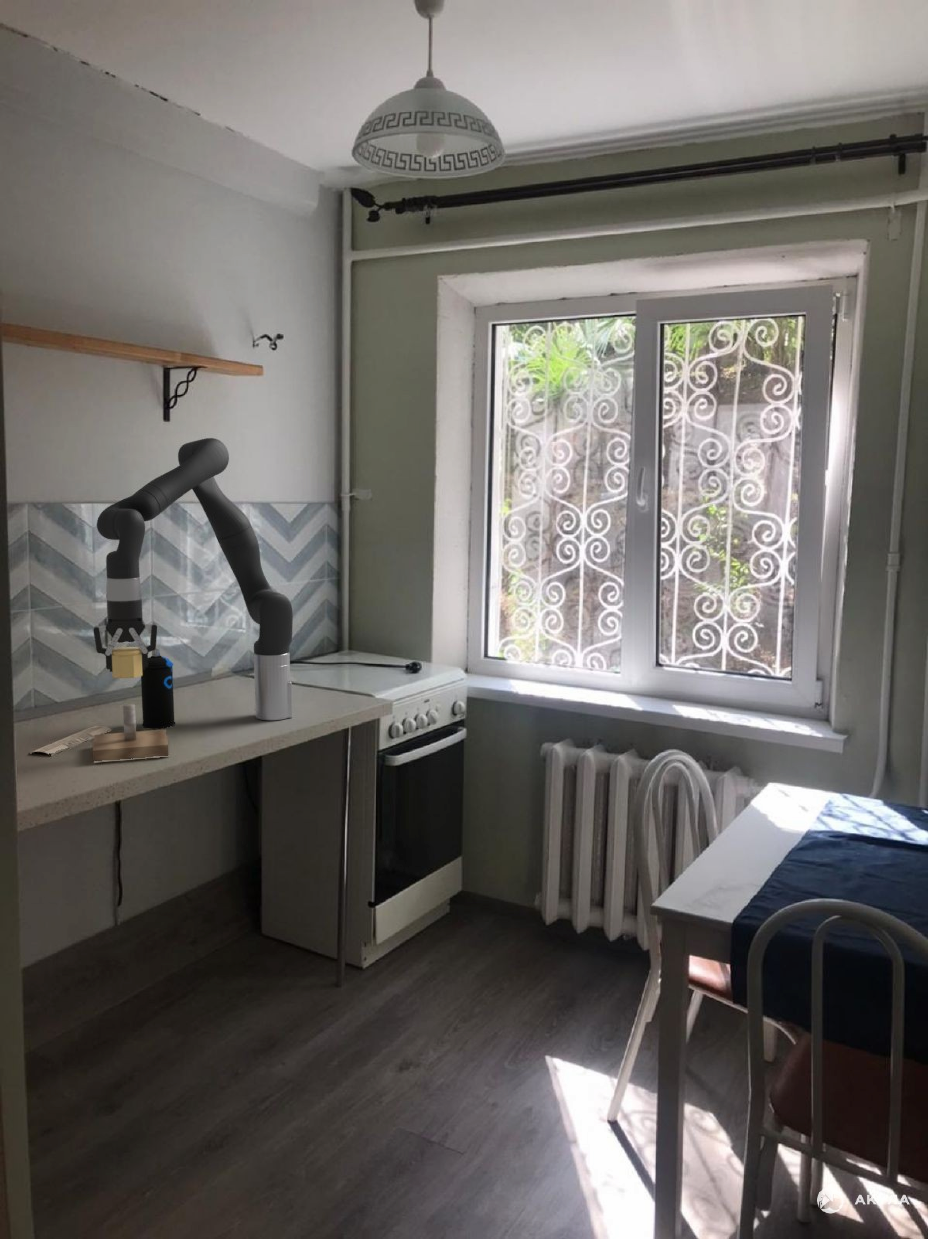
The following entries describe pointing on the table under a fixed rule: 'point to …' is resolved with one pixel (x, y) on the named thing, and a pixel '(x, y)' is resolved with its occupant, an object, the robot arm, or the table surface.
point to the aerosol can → (157, 692)
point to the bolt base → (130, 741)
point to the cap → (127, 662)
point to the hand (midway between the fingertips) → (127, 670)
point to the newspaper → (73, 739)
